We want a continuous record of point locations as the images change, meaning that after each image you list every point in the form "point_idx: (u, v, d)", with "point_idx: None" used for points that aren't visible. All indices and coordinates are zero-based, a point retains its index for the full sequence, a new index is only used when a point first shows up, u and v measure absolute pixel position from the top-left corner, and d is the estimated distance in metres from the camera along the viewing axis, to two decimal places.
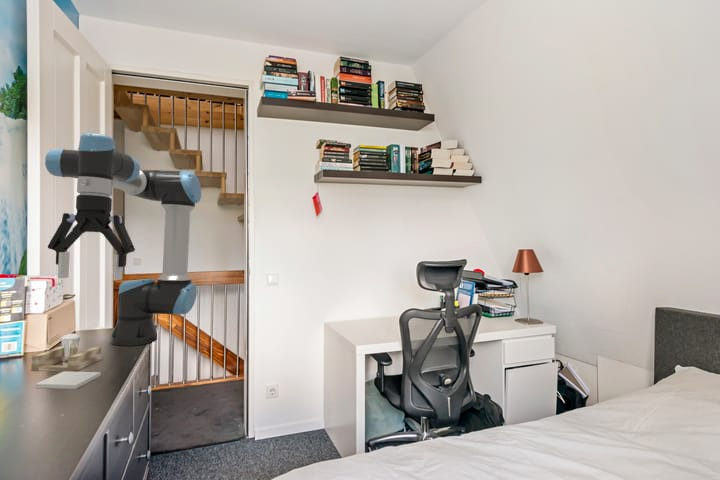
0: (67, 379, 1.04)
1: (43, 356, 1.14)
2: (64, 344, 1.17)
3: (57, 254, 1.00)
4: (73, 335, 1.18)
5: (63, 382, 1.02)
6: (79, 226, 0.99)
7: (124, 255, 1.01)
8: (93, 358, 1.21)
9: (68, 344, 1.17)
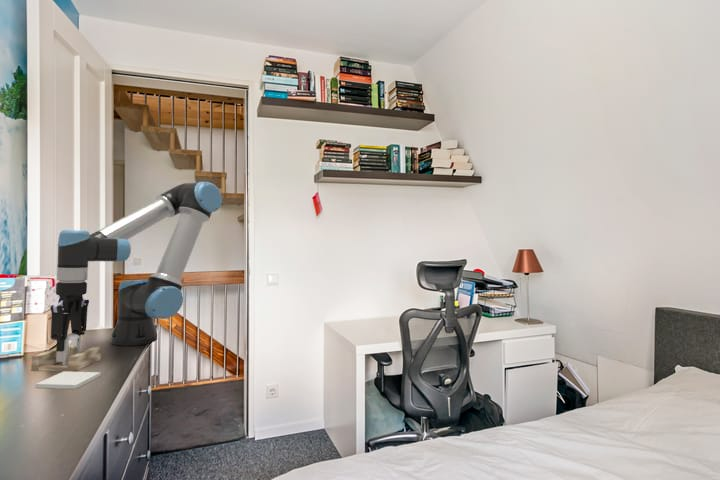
0: (67, 379, 1.04)
1: (43, 356, 1.14)
2: None
3: None
4: (72, 335, 1.18)
5: (63, 382, 1.02)
6: None
7: (58, 341, 1.14)
8: (93, 358, 1.21)
9: None
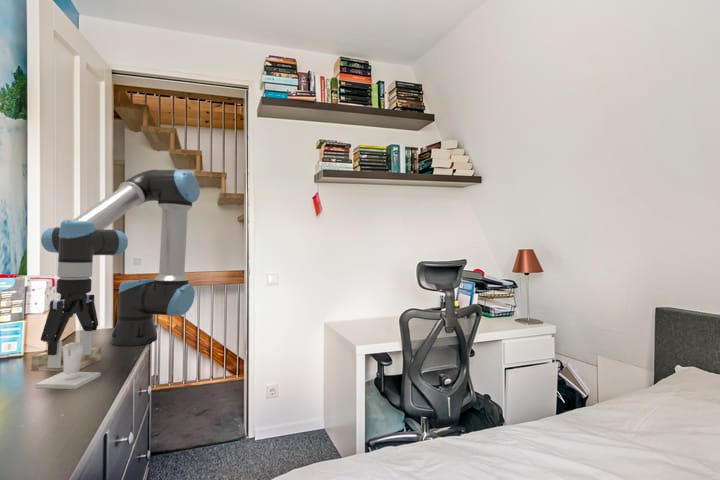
0: (67, 379, 1.04)
1: (43, 356, 1.14)
2: (66, 354, 1.03)
3: None
4: (76, 344, 1.05)
5: (63, 382, 1.02)
6: None
7: (49, 343, 0.98)
8: (93, 358, 1.21)
9: (70, 354, 1.03)
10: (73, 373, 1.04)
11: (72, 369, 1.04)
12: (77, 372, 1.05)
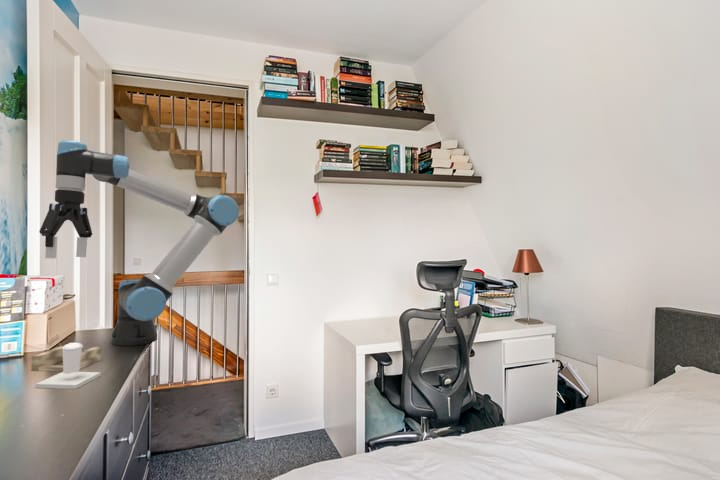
0: None
1: (43, 356, 1.14)
2: (65, 355, 1.03)
3: None
4: (75, 344, 1.05)
5: (63, 382, 1.02)
6: None
7: (47, 237, 1.16)
8: (93, 358, 1.21)
9: (70, 355, 1.03)
10: (73, 373, 1.04)
11: (72, 369, 1.04)
12: (77, 372, 1.05)
